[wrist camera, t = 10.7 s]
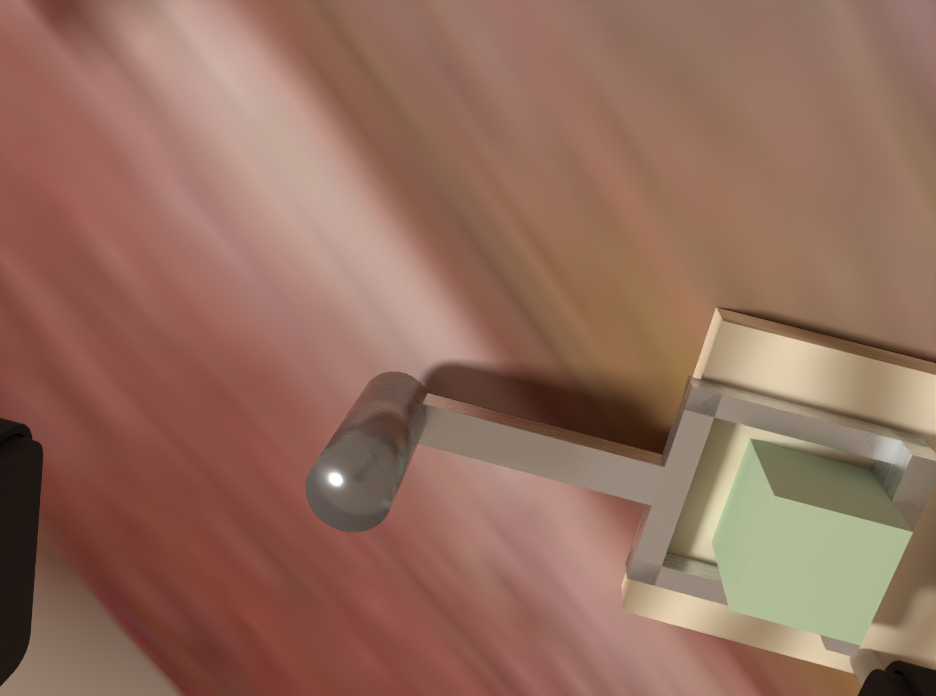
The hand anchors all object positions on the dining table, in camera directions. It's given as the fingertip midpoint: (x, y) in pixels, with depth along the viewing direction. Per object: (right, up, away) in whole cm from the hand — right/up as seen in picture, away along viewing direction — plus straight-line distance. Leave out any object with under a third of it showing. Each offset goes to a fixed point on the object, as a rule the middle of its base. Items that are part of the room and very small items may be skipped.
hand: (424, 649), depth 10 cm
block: (+14, -3, +27) cm, 31 cm away
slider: (+7, -1, +27) cm, 28 cm away
